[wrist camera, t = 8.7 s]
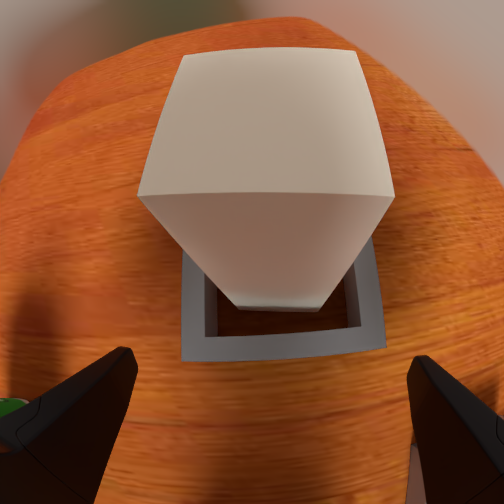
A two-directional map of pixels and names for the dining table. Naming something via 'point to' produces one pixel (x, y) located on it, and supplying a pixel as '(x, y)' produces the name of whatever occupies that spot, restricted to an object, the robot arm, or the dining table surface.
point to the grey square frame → (282, 345)
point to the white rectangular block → (269, 171)
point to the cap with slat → (416, 478)
